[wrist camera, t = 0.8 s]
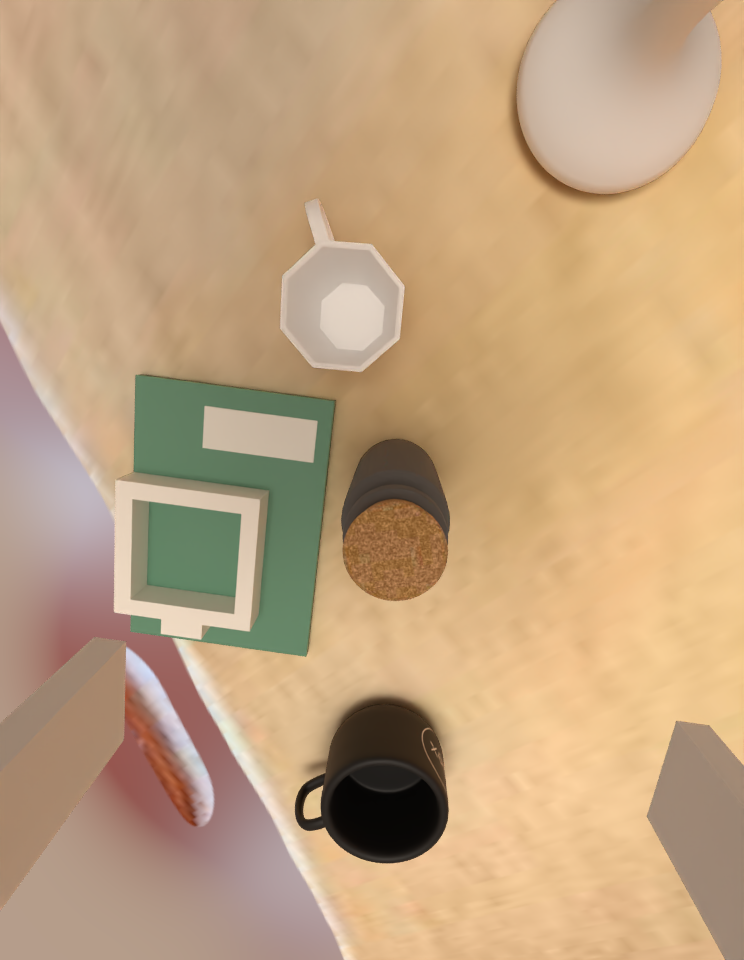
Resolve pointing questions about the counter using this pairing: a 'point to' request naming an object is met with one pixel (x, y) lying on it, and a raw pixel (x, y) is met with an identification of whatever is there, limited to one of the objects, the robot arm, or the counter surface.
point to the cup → (340, 300)
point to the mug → (381, 786)
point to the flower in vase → (617, 89)
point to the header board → (222, 514)
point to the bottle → (395, 522)
